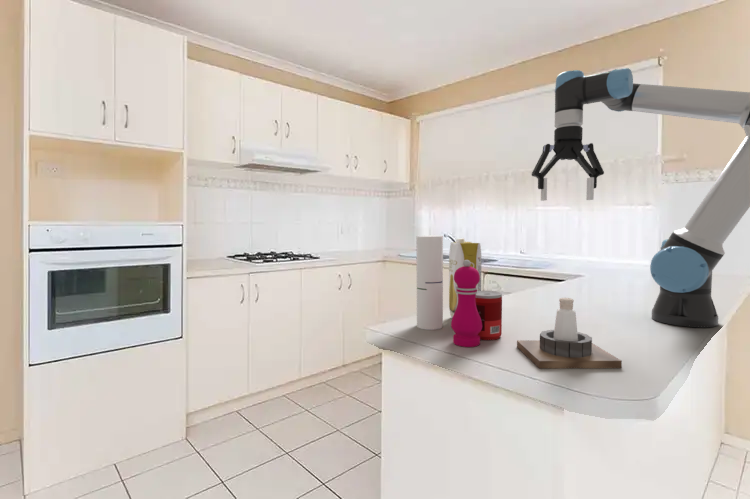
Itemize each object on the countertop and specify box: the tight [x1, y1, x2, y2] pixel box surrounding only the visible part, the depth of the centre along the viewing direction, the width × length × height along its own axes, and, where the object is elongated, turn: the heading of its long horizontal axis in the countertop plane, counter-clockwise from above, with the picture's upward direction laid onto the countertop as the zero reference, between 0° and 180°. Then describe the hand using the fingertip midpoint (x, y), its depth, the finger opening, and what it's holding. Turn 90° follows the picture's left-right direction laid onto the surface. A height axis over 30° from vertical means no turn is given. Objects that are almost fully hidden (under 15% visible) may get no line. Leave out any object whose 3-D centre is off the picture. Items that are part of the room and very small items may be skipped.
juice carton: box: [448, 237, 482, 318], centre depth 122 cm, size 9×8×24 cm
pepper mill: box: [450, 260, 482, 348], centre depth 99 cm, size 7×7×20 cm
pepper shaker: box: [553, 297, 578, 341], centre depth 89 cm, size 5×5×11 cm
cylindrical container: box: [416, 234, 444, 331], centre depth 115 cm, size 7×7×25 cm
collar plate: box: [516, 329, 623, 369], centre depth 89 cm, size 16×14×4 cm
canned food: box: [475, 290, 503, 341], centre depth 105 cm, size 8×8×11 cm
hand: (566, 200), depth 124 cm, fingers open, 13 cm apart
